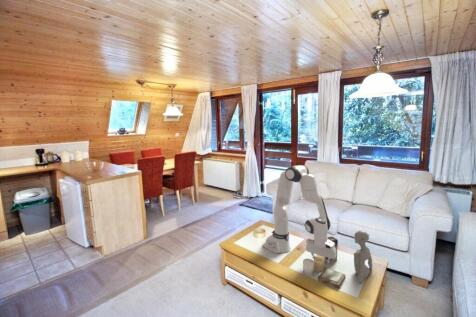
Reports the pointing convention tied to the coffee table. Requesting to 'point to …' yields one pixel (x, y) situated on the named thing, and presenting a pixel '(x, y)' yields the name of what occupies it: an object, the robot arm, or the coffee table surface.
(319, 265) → the carton
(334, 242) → the coffee box
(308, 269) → the white rounded cylinder
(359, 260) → the elf figurine
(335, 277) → the wooden picture frame
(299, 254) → the coffee table surface
